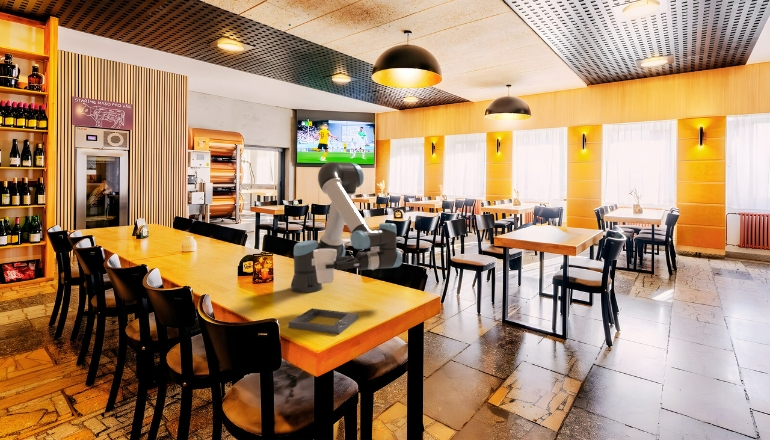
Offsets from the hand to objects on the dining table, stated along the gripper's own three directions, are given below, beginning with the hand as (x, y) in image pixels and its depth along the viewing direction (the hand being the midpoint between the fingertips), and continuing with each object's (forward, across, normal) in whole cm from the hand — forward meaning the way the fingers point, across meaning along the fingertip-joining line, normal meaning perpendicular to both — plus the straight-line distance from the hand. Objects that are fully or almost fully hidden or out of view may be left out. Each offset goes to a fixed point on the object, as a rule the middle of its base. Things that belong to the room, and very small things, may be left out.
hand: (314, 264), depth 161 cm
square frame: (0, -16, -19) cm, 25 cm away
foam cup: (-4, 0, -8) cm, 9 cm away
